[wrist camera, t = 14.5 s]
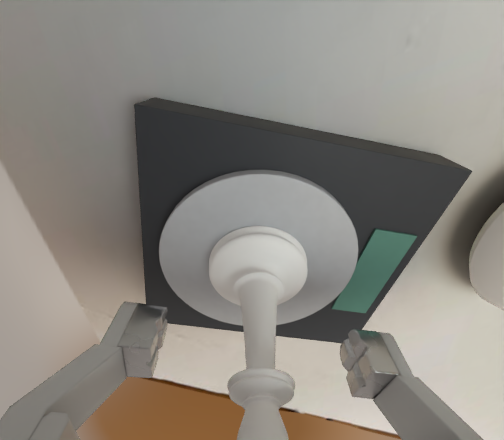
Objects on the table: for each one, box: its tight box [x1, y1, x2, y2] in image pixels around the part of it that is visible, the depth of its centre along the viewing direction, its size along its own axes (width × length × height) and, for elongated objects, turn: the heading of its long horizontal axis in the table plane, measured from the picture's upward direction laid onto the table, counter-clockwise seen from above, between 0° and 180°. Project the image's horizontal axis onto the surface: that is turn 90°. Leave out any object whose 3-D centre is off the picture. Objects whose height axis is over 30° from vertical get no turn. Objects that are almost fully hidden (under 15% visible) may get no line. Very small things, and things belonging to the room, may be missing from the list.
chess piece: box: [209, 226, 308, 440], centre depth 8 cm, size 5×5×10 cm
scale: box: [134, 98, 472, 343], centre depth 14 cm, size 14×13×3 cm
